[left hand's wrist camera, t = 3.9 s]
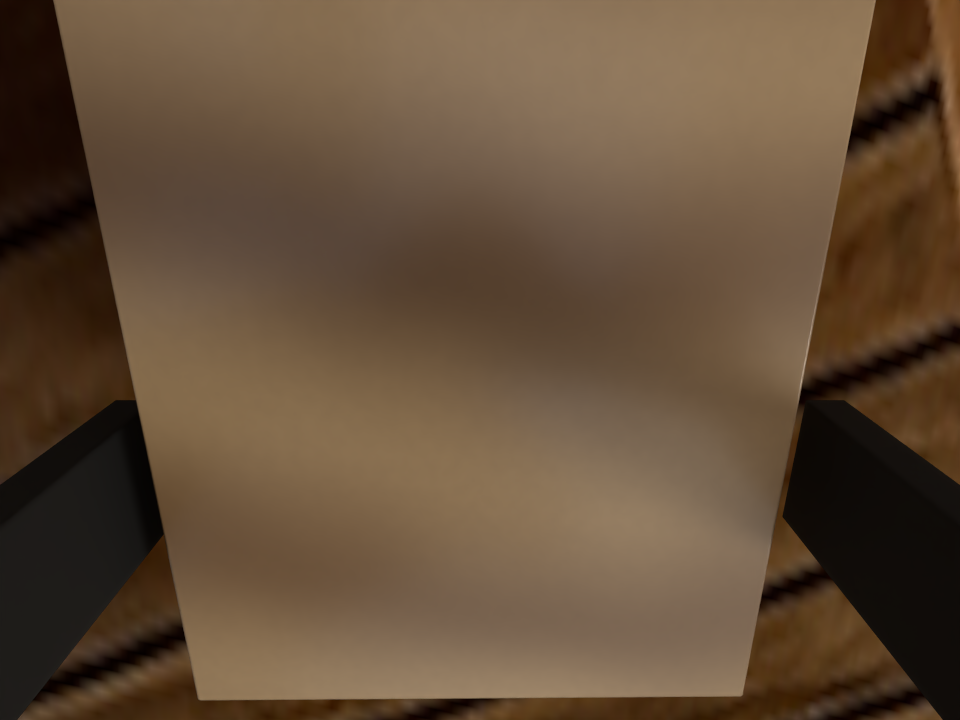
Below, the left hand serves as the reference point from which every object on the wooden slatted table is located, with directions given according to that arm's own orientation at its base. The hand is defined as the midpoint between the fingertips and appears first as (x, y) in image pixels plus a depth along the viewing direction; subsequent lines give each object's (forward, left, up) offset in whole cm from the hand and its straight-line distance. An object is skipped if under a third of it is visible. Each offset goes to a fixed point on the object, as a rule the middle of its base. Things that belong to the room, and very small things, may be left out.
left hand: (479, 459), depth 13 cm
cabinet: (+2, +4, -10) cm, 11 cm away
